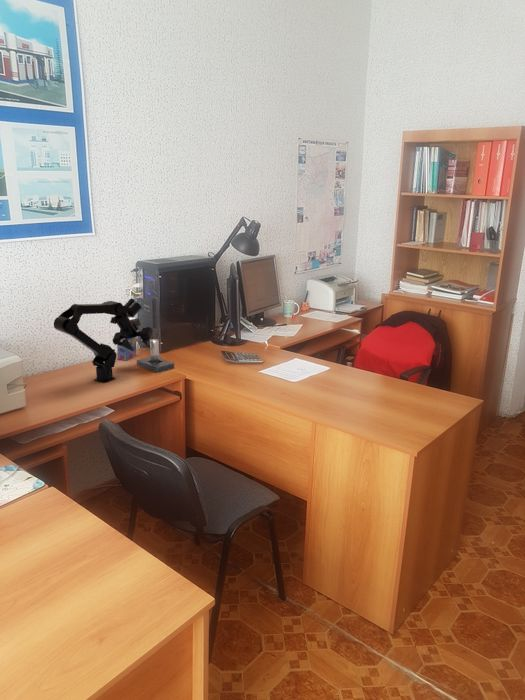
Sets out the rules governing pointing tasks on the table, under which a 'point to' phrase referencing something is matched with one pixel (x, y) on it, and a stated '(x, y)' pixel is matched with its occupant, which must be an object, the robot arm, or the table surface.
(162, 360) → the jig
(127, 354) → the ink cartridge box
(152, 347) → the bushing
